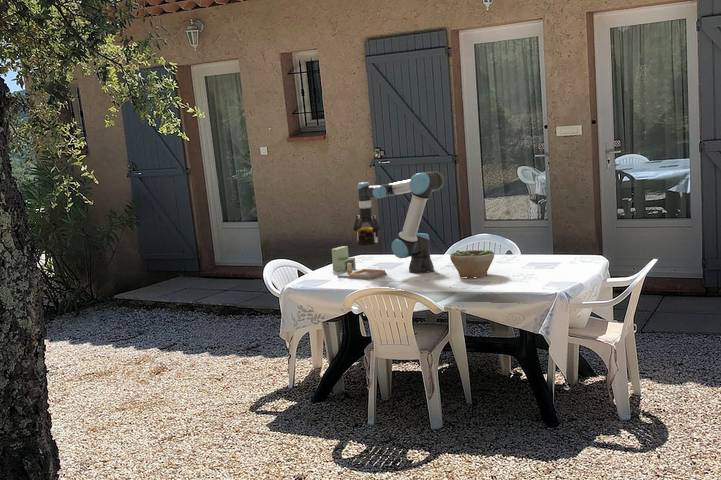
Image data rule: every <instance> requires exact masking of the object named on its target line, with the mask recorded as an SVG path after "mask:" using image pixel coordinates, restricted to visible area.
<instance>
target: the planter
mask: <svg viewBox="0 0 721 480" xmlns="http://www.w3.org/2000/svg"><path fill="white" fill-rule="evenodd" d="M449 256H450V257H449V258H450V261H451V263H452V264H453V266H454V268H456V271H457V272H458V276H460V277H459V278H461V277H467V278H466V279H475V278H474V277H481V278H484V277H483V276H485V277H487V276H488V271H489V268H491V267H490V266H491V265H492V262H493V260H494V258H495V252H494V251H493V250H481V249H474V250H461V251H455V252H454V251H453V252H452V253H450V254H449ZM486 275H487V276H486Z"/></svg>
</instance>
